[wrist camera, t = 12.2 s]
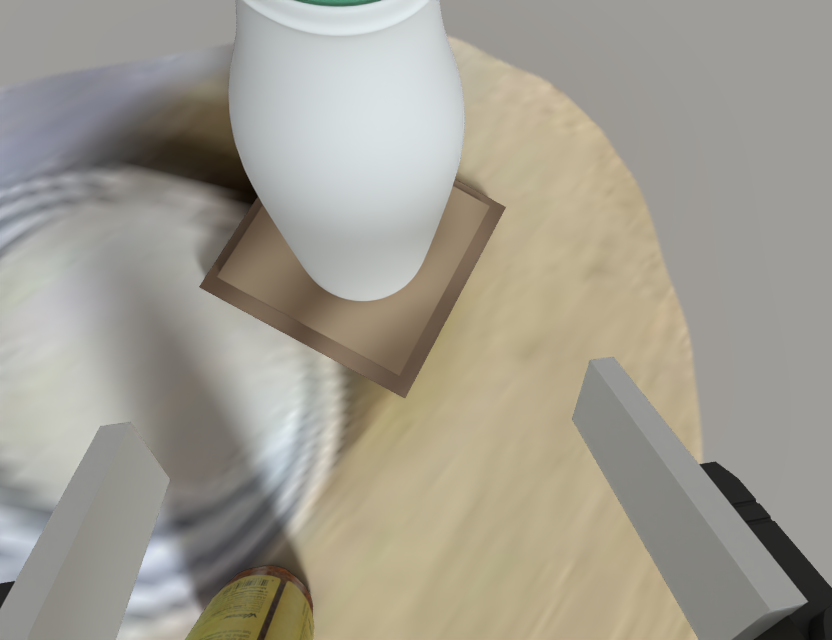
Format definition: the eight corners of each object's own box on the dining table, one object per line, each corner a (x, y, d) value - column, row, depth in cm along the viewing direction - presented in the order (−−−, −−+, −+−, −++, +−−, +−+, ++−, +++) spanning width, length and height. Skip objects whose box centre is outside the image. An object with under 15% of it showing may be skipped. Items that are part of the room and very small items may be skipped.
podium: (212, 293, 27) (191, 283, 24) (322, 122, 29) (315, 93, 26) (403, 396, 27) (406, 399, 24) (497, 218, 29) (510, 200, 27)
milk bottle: (434, 296, 25) (643, 3, 5) (303, 310, 24) (-4, 23, 5) (418, 175, 26) (546, -444, 6) (292, 185, 25) (-5, -494, 6)
